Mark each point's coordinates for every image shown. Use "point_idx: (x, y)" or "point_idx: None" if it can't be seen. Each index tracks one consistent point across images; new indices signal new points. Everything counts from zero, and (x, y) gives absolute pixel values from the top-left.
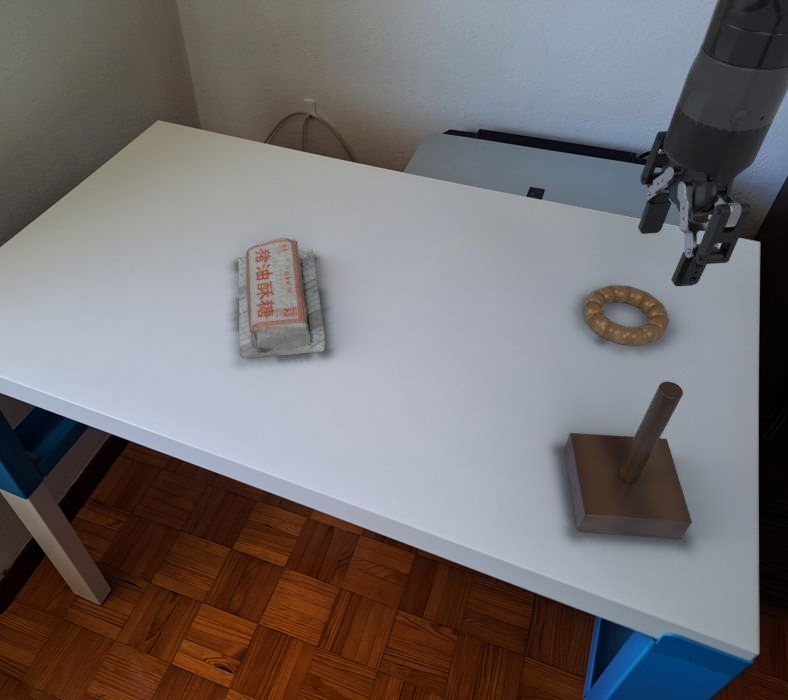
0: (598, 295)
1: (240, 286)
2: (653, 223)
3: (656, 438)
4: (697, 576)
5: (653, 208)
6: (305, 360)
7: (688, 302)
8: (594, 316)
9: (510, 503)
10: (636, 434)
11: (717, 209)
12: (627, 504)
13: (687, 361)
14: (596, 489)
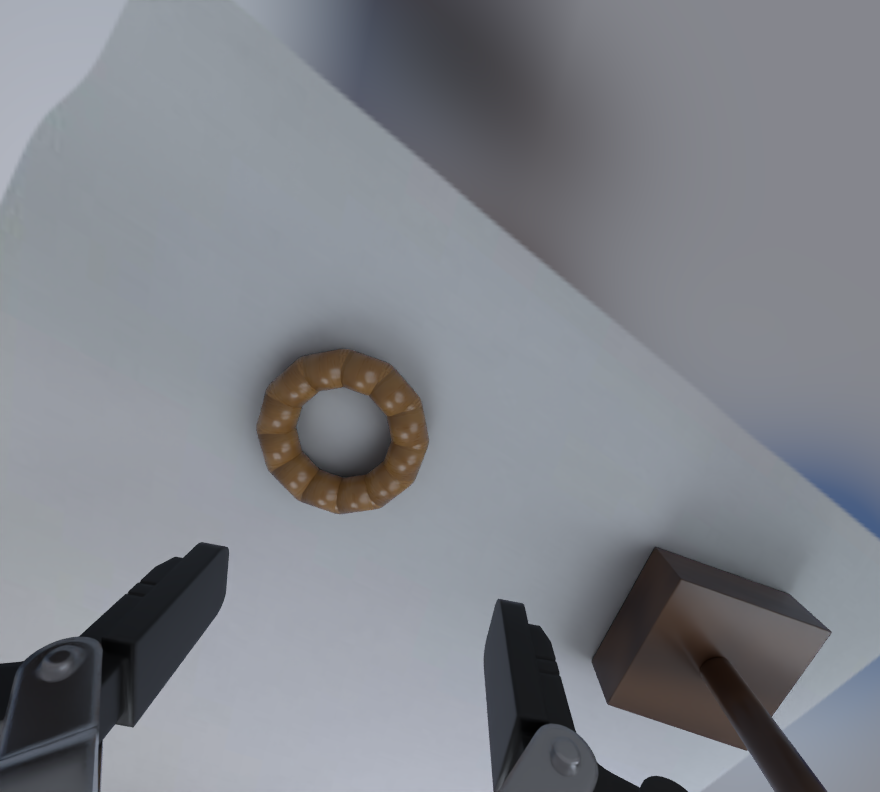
0: (287, 476)
1: None
2: (201, 601)
3: None
4: (844, 603)
5: (150, 685)
6: None
7: (326, 262)
8: (344, 511)
9: (642, 753)
10: None
11: None
12: (761, 696)
13: (485, 373)
14: (717, 719)
